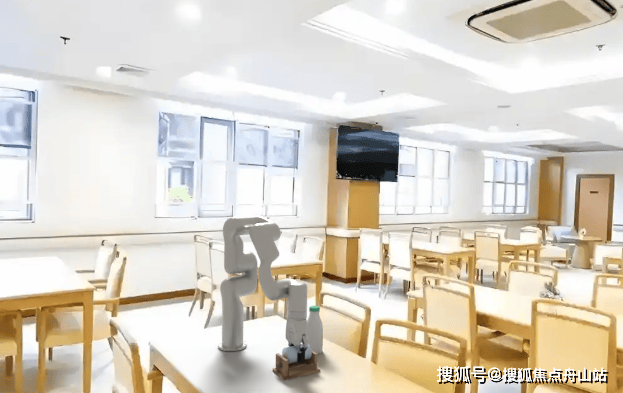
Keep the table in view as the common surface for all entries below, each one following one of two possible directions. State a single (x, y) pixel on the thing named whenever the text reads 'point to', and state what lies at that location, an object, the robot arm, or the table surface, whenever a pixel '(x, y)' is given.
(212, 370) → the table surface
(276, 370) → the holder
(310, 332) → the milk bottle
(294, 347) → the cylinder
